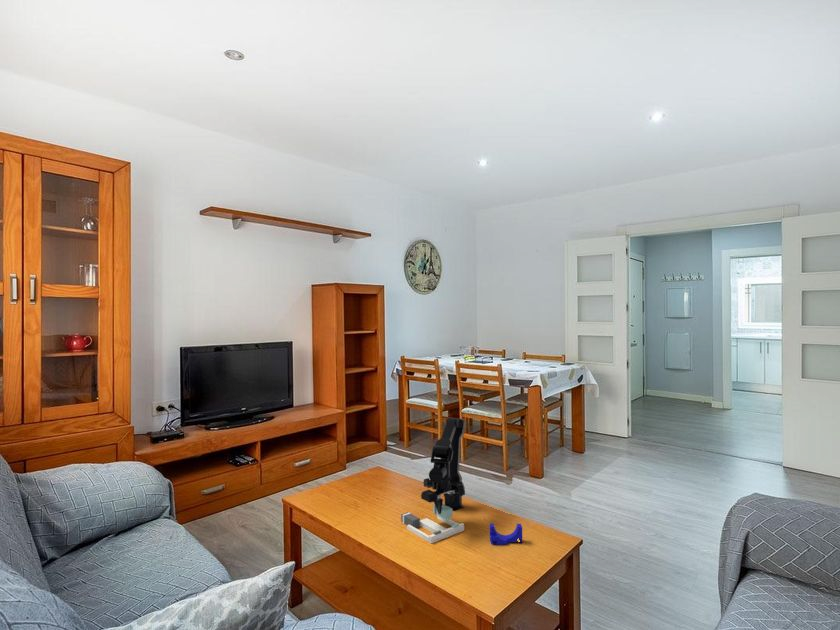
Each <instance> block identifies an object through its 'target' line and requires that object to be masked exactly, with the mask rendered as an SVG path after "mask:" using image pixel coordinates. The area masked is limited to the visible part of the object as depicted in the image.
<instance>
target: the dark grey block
mask: <svg viewBox="0 0 840 630" xmlns="http://www.w3.org/2000/svg"><path fill="white" fill-rule="evenodd" d="M400 515H401V517H400V521H401V523H402V524H404V525H405V526H407V525H411V526H413V527H415V528H416V529H418V528H419V527H421V526H420V520H421V519H420V518H421V517H418V516H416V515H414V514H413V513H411V512H409V511H407V512H403V513H401V514H400Z"/></svg>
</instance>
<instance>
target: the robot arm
mask: <svg viewBox="0 0 840 630" xmlns="http://www.w3.org/2000/svg"><path fill="white" fill-rule="evenodd" d="M466 429H467V422H466V420H465V419H464V418H457V417H447V418H446V419H445V426H444V429H443V431H442V435H441V437H440V438H439V439H437V440H436V441H435V443H434V445H433V447H432V450H431V457H430V463H432V464H433V467H432V468H431V469H430V471H429V472H428V478H427V477H426V478H424V479H423V483H422V484H423V487H424V488H427V490H423V491H422V492H421V495H420V499H421V500H423V501H426V502H427V503H433V504H435V506H436V509H437V511H438V514H441V510H442V503H443V501H444V503H443V504H444V505H446V506H448V507H450V508H452V512H455V511H457V510H460V509H463V508H465V506H464V505H463V501H462V500H463V496H466V488H465V485H464V482H463V477H462V475H461V473H460V458H461V457H460V455H461V441H462V437H463V436H464V434H465V431H466ZM430 488H432V490H431V489H430ZM433 490H434V491H433ZM442 496H443V497H444V499H443V498H441V497H442Z"/></svg>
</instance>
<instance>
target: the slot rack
mask: <svg viewBox="0 0 840 630" xmlns="http://www.w3.org/2000/svg"><path fill="white" fill-rule="evenodd" d="M436 519H438V520H439V521H441V522H442V523H445V524H446V525H449V526H450V527H448V528H447V527H444V526H443V525H440V524H439V523H436V522H435V521H433V520H432V519H429V518H428V517H426V518H423V519H420V527H422V528H423V529H425V530H428V531H429V532H431V534H430V535H429V534H427V533H425V532H424V531H421V530H420V529H418V528H415V527H413V526H411V525H406V529H407V530H408V531H409V532H411V533H413V534H414V535H416V536H418V537H419V538H421V539H423V540H424V541H426V542H428V543H430V544H434V543H436V542H439V541H441V540H443V539H446V538H449V537H452V536H454V535H456V534H459V533H461V532H464V531H465V524H464V523H463V522H461V523H458V522H456V521H454V520H452V519H451V518H449V519H444V518H442V517H440V516H438V515H436Z"/></svg>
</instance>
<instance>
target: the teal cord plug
mask: <svg viewBox="0 0 840 630" xmlns="http://www.w3.org/2000/svg"><path fill="white" fill-rule="evenodd" d="M432 513H433V514H435V515H436V516H437V515H438V516H440V517H442V518H444V519H451V518H453V510H452V508H450V507H448V506H446V505H445V503H442V510H441V514H438V511H437V509H436V506H435V503H433V505H432Z"/></svg>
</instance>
